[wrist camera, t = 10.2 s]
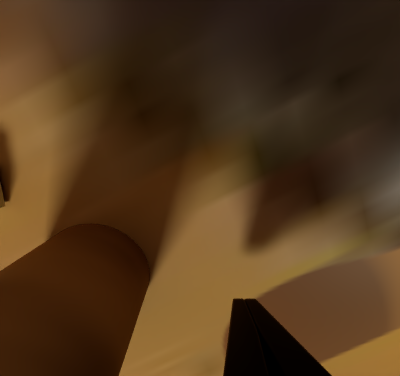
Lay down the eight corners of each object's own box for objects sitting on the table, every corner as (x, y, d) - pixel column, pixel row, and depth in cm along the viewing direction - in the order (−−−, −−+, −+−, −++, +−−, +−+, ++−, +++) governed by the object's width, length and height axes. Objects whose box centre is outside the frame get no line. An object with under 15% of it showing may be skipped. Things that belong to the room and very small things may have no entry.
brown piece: (151, 317, 9) (24, 817, 2) (49, 317, 9) (-405, 854, 2) (148, 224, 8) (-98, 644, 1) (32, 222, 8) (-954, 694, 1)
